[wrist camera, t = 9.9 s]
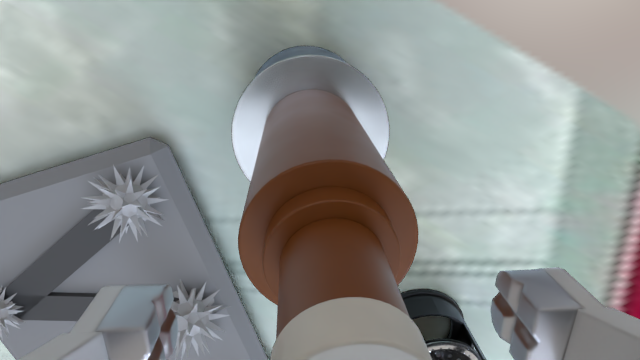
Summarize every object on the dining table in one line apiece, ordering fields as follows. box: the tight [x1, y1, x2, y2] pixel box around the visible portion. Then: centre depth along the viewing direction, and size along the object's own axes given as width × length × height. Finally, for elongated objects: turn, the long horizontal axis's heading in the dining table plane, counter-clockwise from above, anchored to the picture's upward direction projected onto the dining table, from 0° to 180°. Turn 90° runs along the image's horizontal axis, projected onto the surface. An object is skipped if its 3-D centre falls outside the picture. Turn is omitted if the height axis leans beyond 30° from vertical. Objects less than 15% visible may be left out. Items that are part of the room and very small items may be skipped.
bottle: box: [238, 89, 432, 360], centre depth 16 cm, size 6×6×18 cm
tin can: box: [231, 46, 390, 182], centre depth 28 cm, size 9×9×9 cm
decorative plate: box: [0, 137, 268, 360], centre depth 35 cm, size 30×22×7 cm
